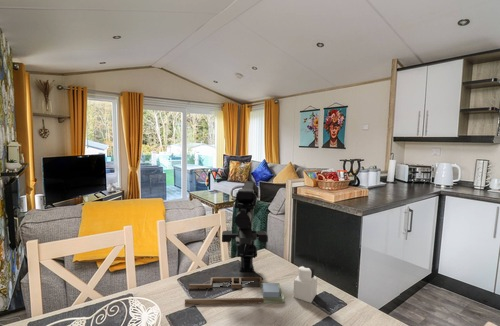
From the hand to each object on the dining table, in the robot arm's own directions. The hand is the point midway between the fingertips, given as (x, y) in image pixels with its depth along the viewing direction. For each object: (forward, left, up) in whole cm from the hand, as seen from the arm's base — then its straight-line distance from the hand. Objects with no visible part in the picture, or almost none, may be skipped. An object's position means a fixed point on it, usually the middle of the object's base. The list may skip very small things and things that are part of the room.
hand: (244, 256), depth 108 cm
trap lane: (+5, -4, -12) cm, 14 cm away
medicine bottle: (+9, +24, -12) cm, 28 cm away
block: (+9, +10, -12) cm, 18 cm away
